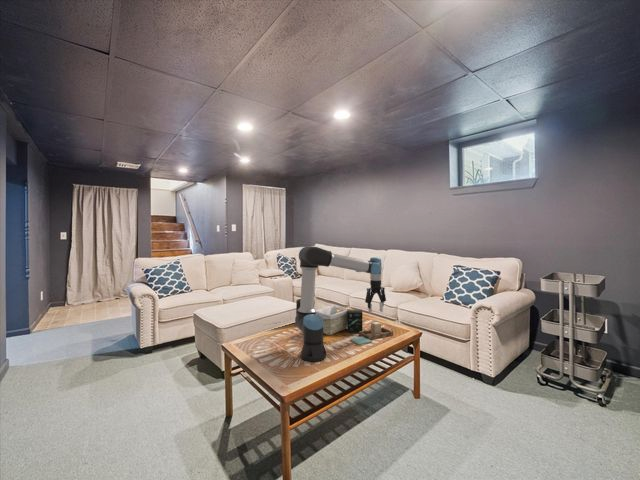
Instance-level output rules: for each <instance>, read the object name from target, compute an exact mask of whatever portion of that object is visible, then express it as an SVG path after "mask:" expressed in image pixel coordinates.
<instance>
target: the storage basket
mask: <svg viewBox="0 0 640 480" xmlns="http://www.w3.org/2000/svg"><path fill="white" fill-rule="evenodd" d="M347 309H348V308H346V307H343V306H339V305H333V304H332V305H329V306H325V307H322V308H320V309H315V310H316V315H319V316H321V317H322V318H323V334H325V335H329V336H331V335H334V334H336V333H339V332H340V331H343V330H345V329H347ZM337 311H340V312H337Z"/></svg>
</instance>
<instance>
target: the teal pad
mask: <svg viewBox="0 0 640 480" xmlns="http://www.w3.org/2000/svg"><path fill="white" fill-rule="evenodd" d="M350 341H351V342H353V343H355V344H356V345H358V346H362V345H367V344H371V343H373V340H369V339H367V338H365V337H363V336H362V337H361V336H358V337H353V338H350Z"/></svg>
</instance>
